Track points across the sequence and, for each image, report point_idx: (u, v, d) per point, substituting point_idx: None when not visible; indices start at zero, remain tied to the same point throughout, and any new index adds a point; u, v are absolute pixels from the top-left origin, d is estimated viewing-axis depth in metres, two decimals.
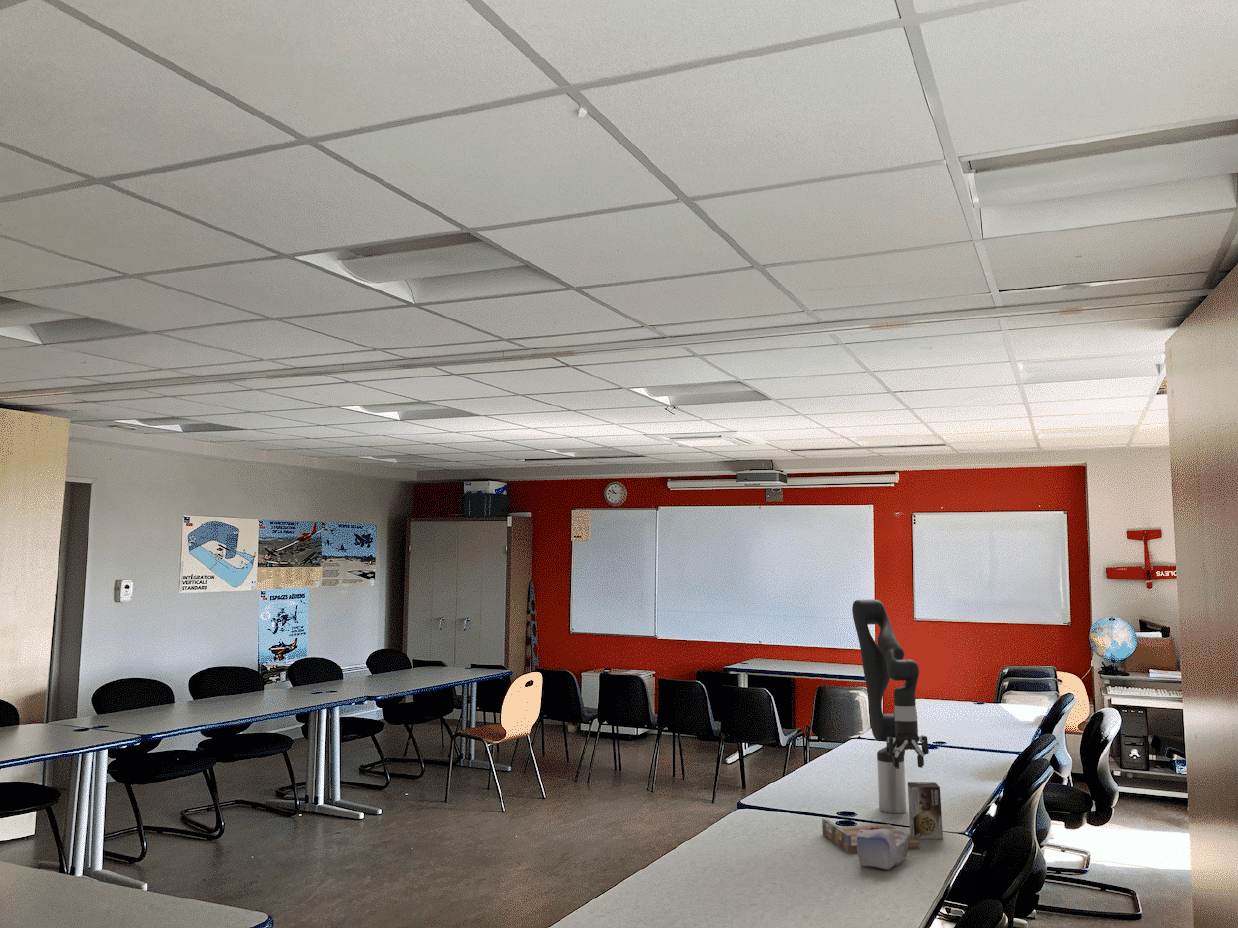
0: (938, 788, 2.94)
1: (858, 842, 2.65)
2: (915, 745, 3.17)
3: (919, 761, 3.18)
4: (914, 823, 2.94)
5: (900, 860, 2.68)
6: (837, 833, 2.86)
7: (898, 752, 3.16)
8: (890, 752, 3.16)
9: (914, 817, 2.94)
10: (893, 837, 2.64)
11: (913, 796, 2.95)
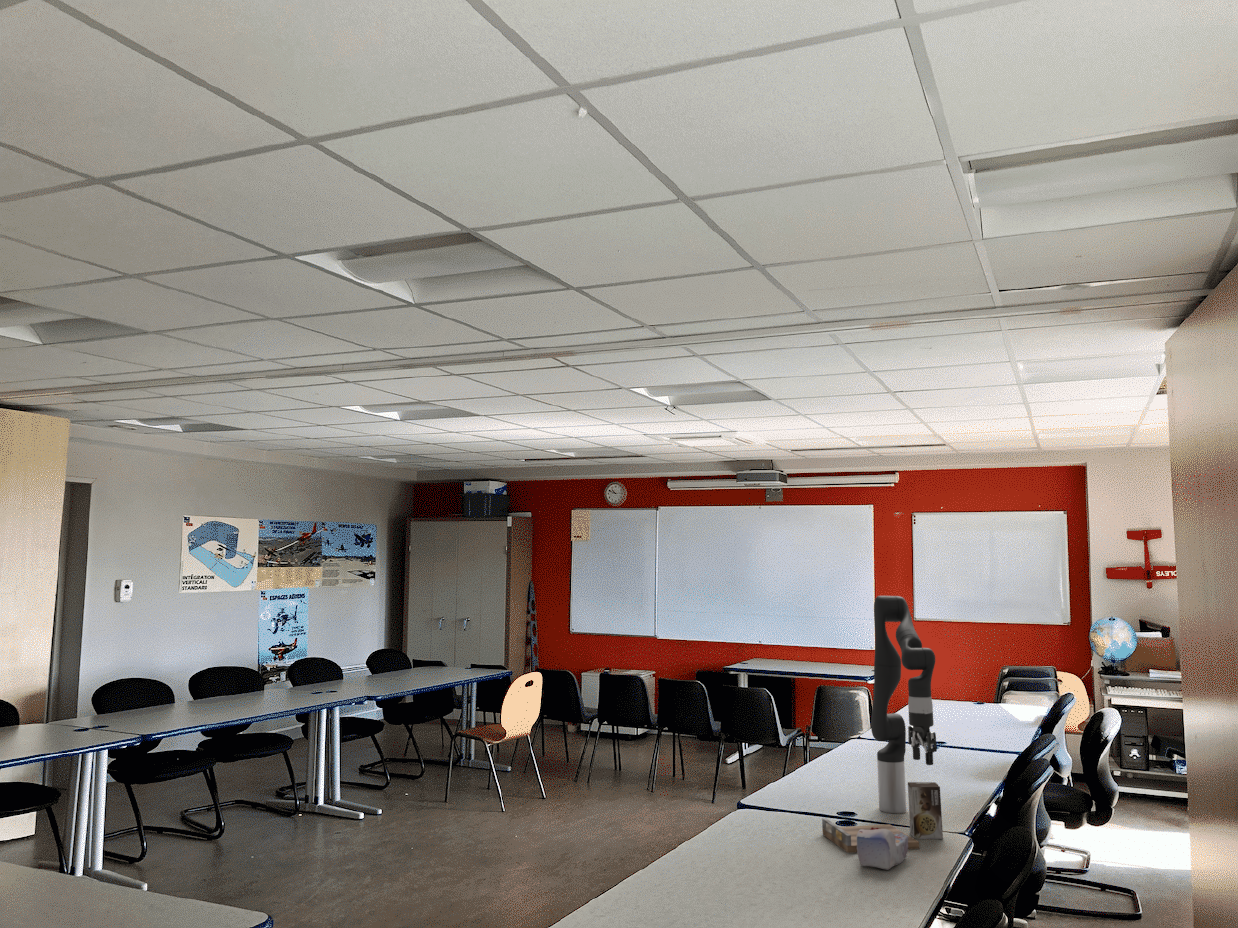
0: (938, 788, 2.94)
1: (858, 842, 2.65)
2: None
3: (916, 753, 3.03)
4: (914, 823, 2.94)
5: (900, 860, 2.68)
6: (837, 833, 2.86)
7: None
8: None
9: (914, 817, 2.94)
10: (893, 837, 2.64)
11: (913, 796, 2.95)
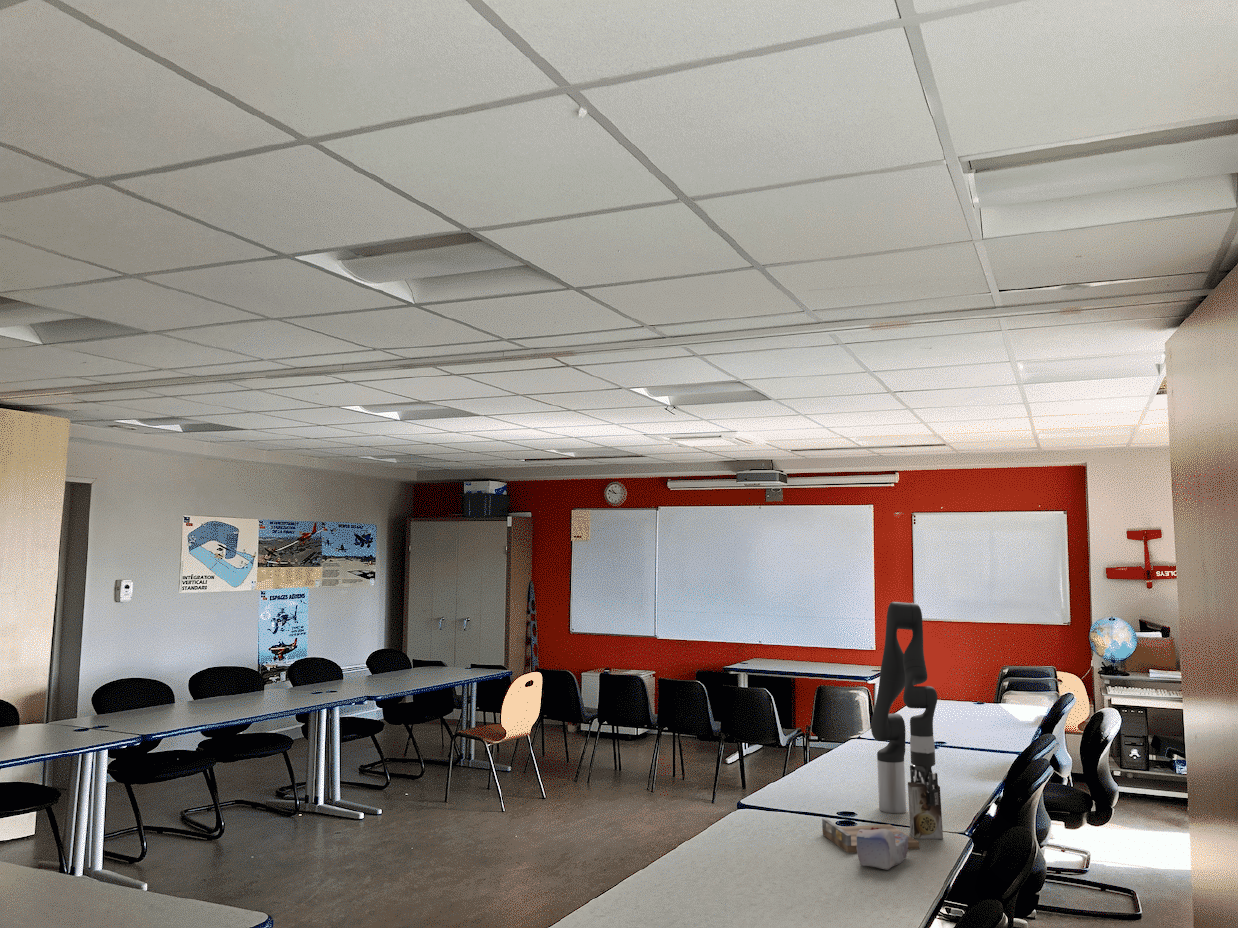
0: (938, 788, 2.94)
1: (858, 842, 2.65)
2: None
3: None
4: (914, 823, 2.94)
5: (900, 860, 2.67)
6: (837, 833, 2.86)
7: None
8: None
9: (914, 817, 2.94)
10: (893, 837, 2.64)
11: (913, 796, 2.95)
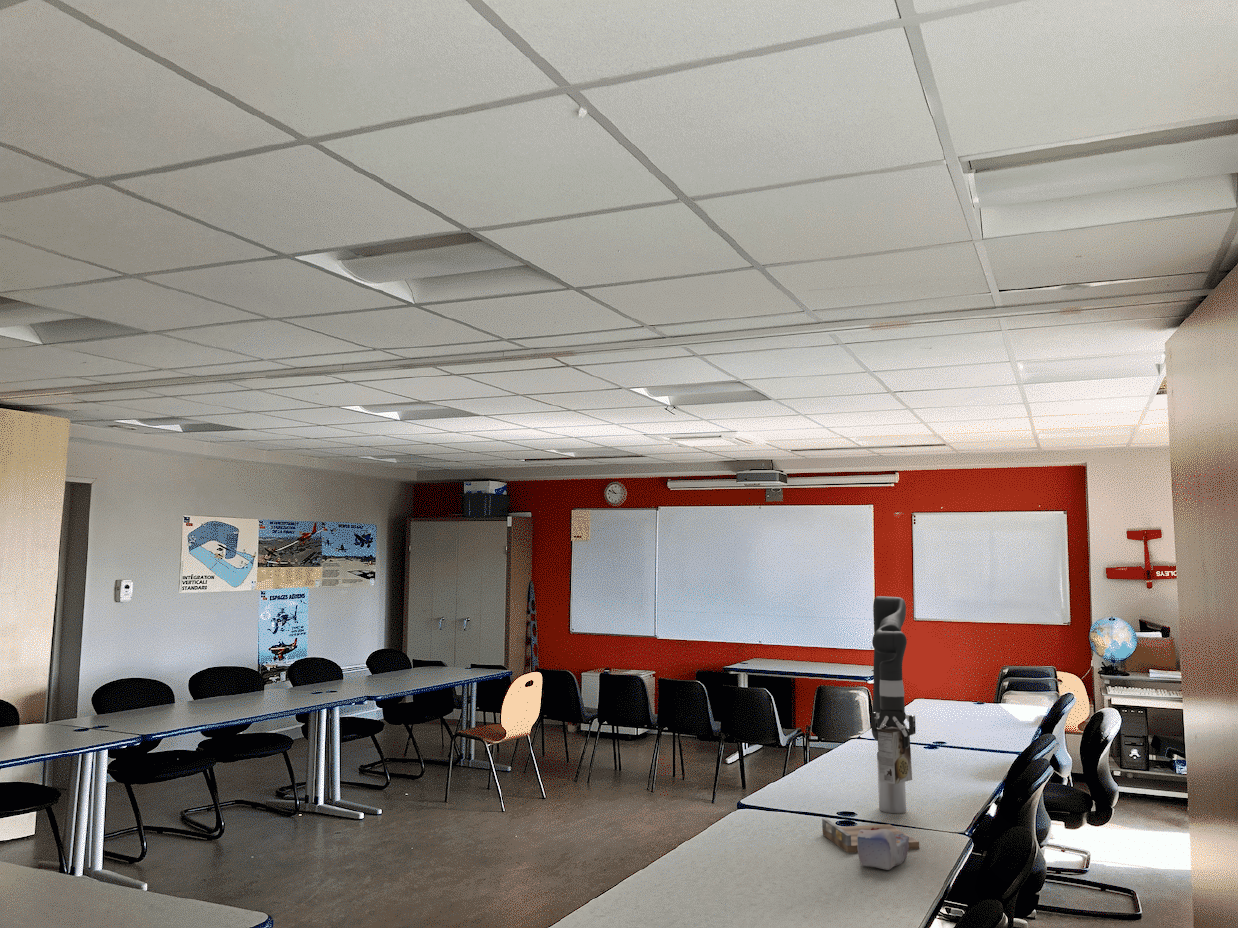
0: (908, 730, 2.97)
1: (859, 842, 2.65)
2: None
3: None
4: (895, 768, 2.91)
5: (901, 860, 2.67)
6: (837, 833, 2.86)
7: None
8: None
9: (895, 762, 2.91)
10: (894, 837, 2.64)
11: (894, 741, 2.92)
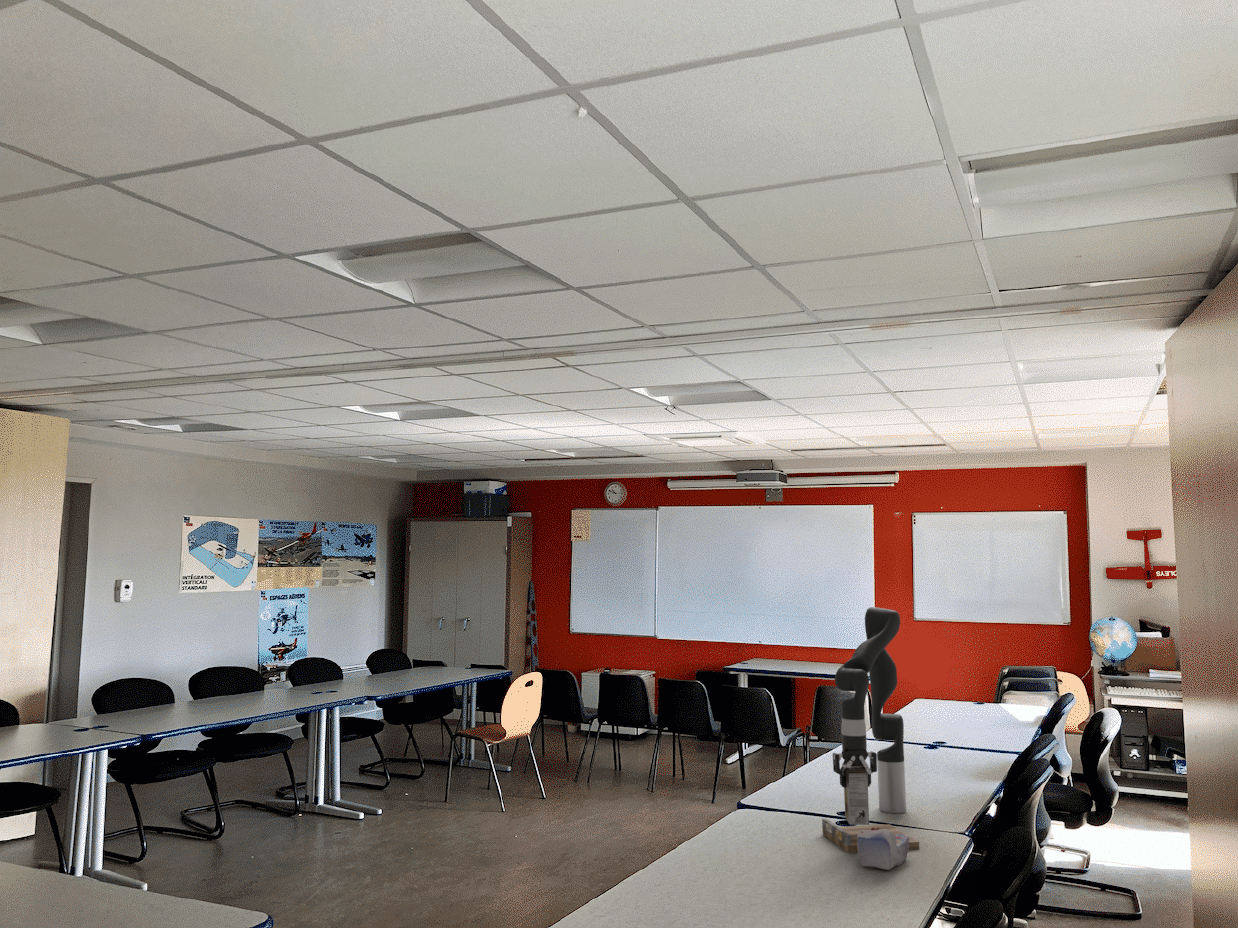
0: None
1: (858, 842, 2.65)
2: None
3: None
4: None
5: (901, 861, 2.67)
6: (837, 833, 2.86)
7: None
8: None
9: None
10: (894, 837, 2.64)
11: (867, 781, 2.88)
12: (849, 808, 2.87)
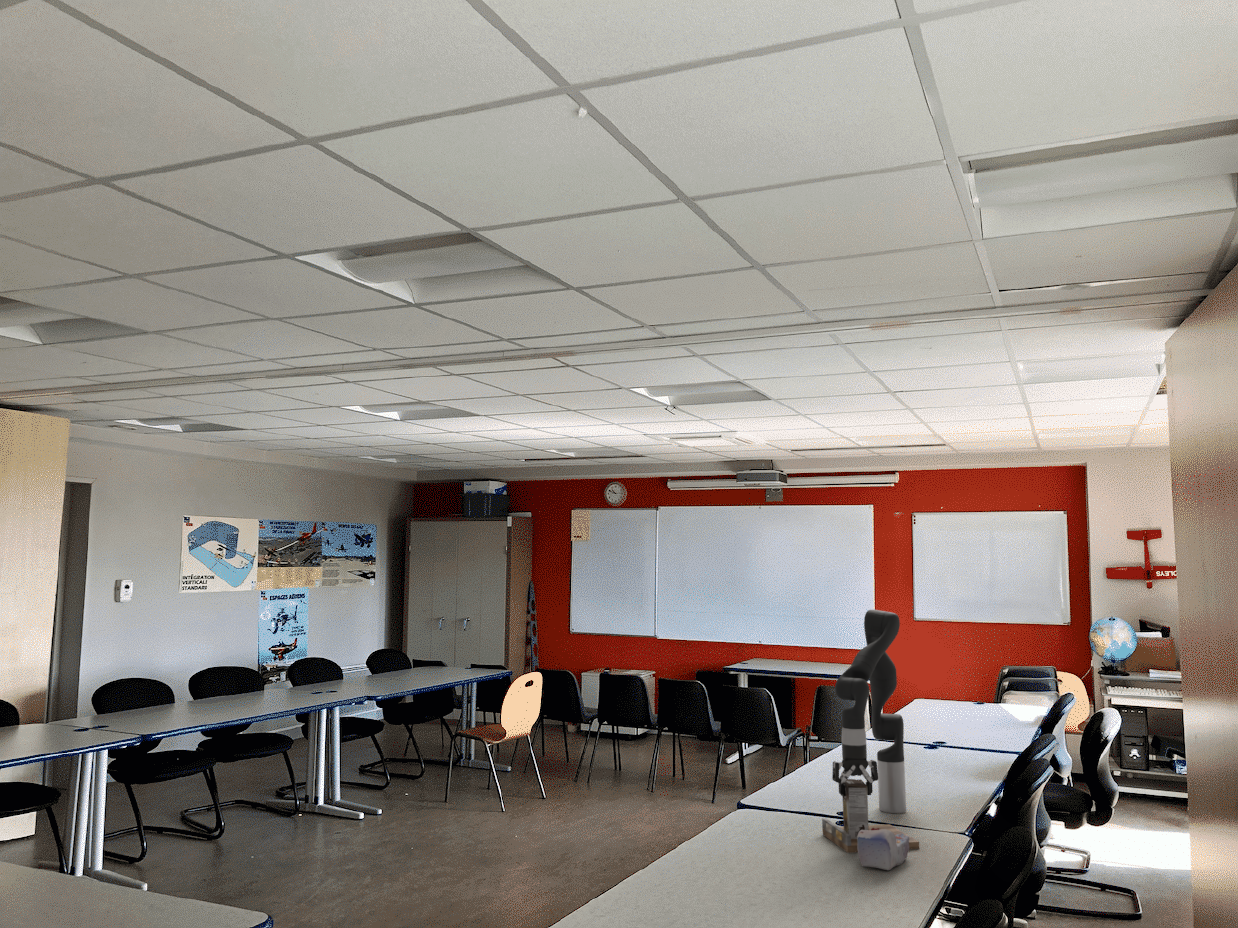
0: None
1: (859, 843, 2.65)
2: None
3: None
4: None
5: (901, 861, 2.67)
6: (837, 833, 2.86)
7: None
8: None
9: None
10: (894, 838, 2.64)
11: None
12: (849, 823, 2.87)
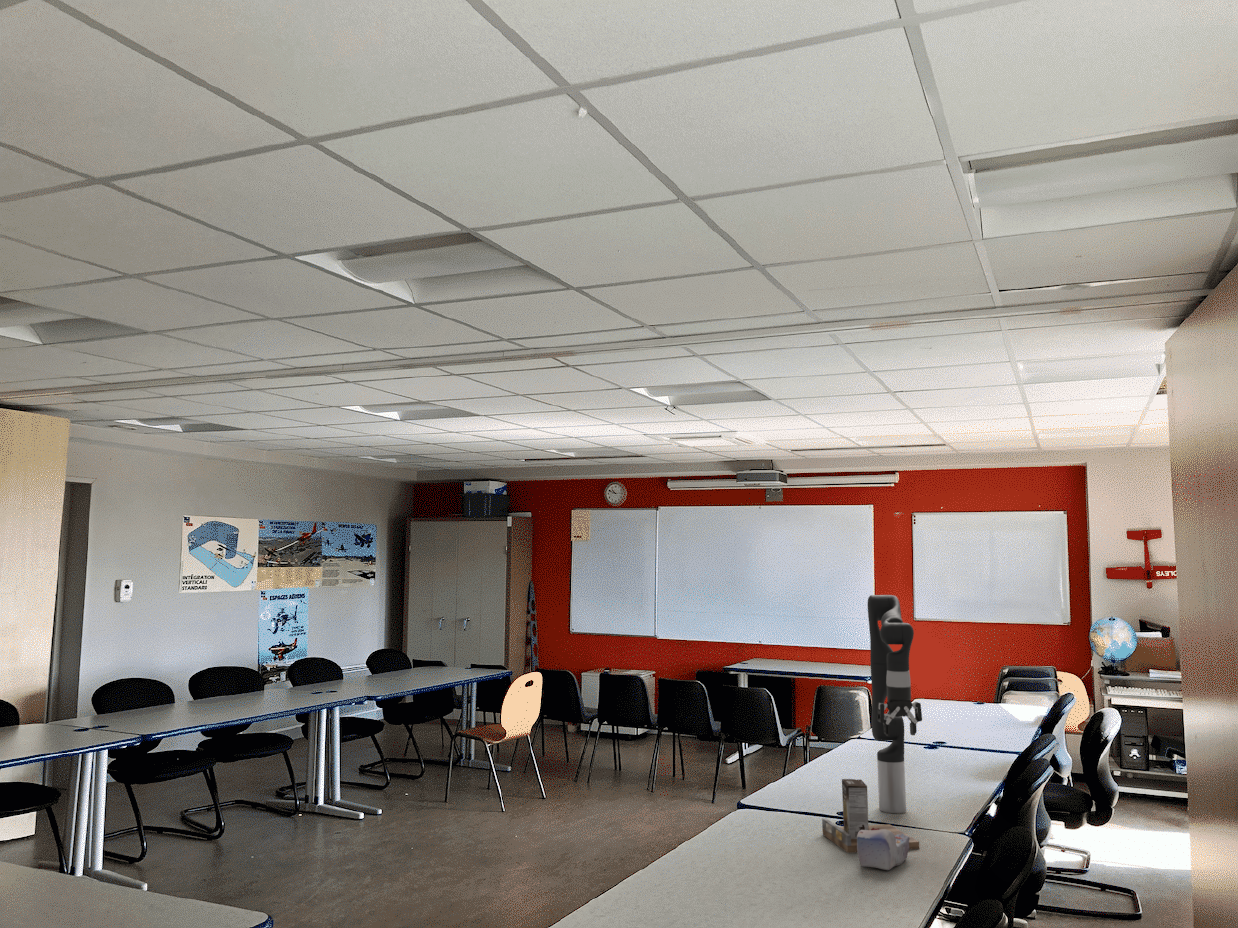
0: None
1: (858, 842, 2.65)
2: None
3: None
4: None
5: (901, 861, 2.67)
6: (837, 833, 2.86)
7: None
8: None
9: None
10: (893, 838, 2.64)
11: None
12: (849, 823, 2.87)
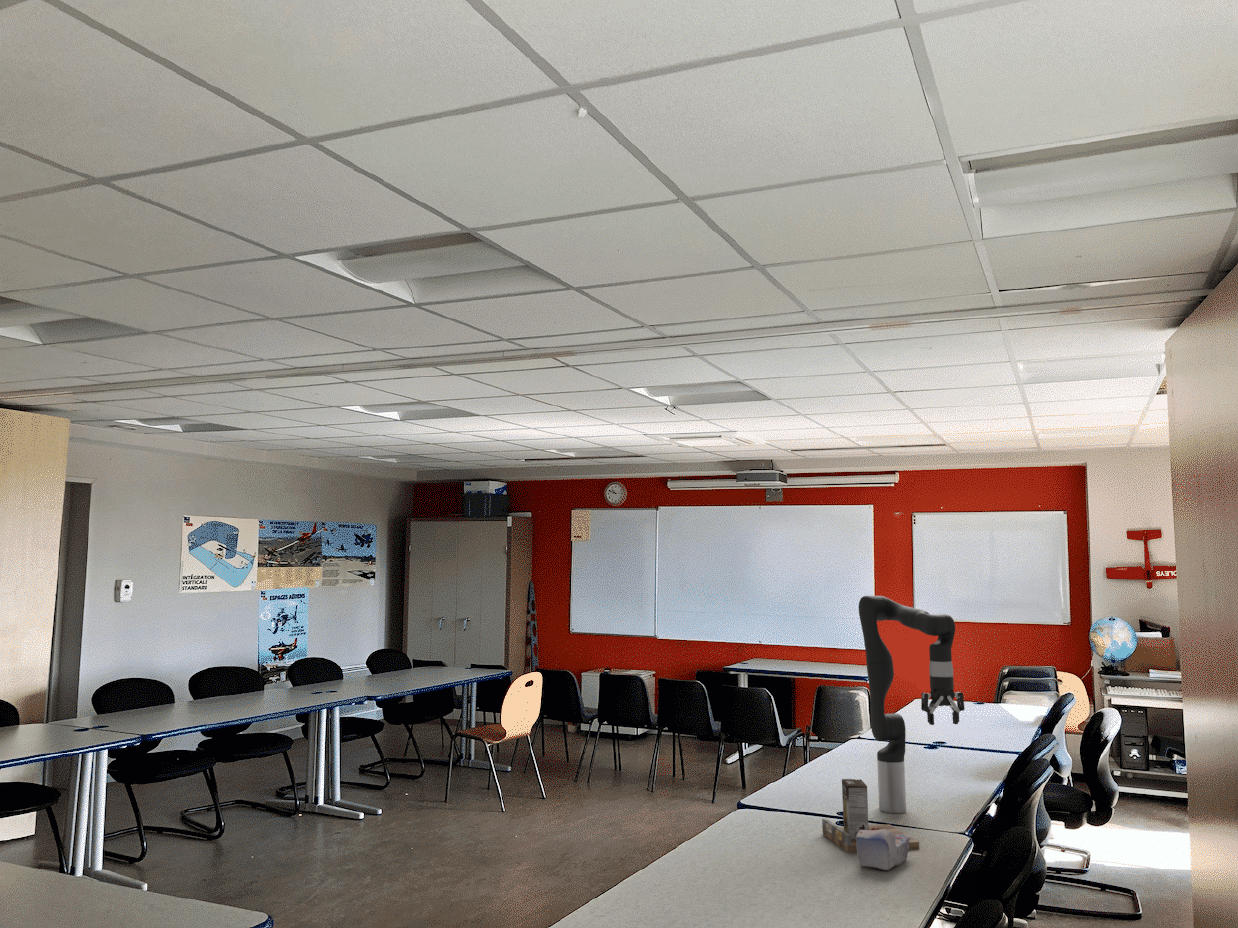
0: None
1: (857, 842, 2.65)
2: None
3: None
4: None
5: (900, 861, 2.67)
6: (837, 833, 2.86)
7: None
8: None
9: None
10: (893, 838, 2.64)
11: None
12: (849, 823, 2.87)
